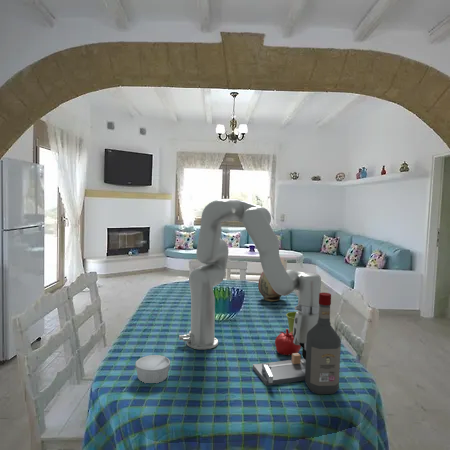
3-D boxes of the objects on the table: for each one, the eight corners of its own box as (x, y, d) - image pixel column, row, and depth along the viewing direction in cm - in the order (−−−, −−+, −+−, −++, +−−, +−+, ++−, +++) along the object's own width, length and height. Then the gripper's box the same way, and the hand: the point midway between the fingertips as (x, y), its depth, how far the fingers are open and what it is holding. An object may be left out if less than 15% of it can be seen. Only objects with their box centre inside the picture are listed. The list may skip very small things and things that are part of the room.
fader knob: (294, 364, 130) (294, 355, 130) (291, 361, 132) (291, 353, 132) (300, 363, 131) (300, 354, 131) (297, 361, 133) (298, 352, 133)
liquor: (341, 394, 114) (345, 297, 112) (311, 395, 114) (315, 298, 111) (330, 379, 123) (334, 290, 121) (303, 380, 123) (306, 290, 120)
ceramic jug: (258, 295, 226) (259, 246, 224) (284, 296, 224) (285, 247, 222) (256, 303, 210) (258, 250, 207) (284, 304, 207) (286, 251, 205)
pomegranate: (298, 360, 138) (299, 336, 137) (272, 355, 142) (272, 331, 141) (302, 349, 147) (303, 326, 146) (277, 345, 151) (278, 322, 150)
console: (266, 385, 119) (266, 379, 119) (252, 368, 130) (252, 362, 130) (322, 377, 124) (322, 371, 124) (304, 362, 136) (304, 356, 136)
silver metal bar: (261, 369, 125) (261, 363, 125) (268, 369, 126) (268, 362, 126) (267, 383, 116) (267, 376, 116) (274, 382, 117) (274, 376, 116)
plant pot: (307, 339, 158) (308, 319, 157) (285, 337, 159) (285, 317, 159) (307, 331, 167) (308, 312, 166) (286, 329, 169) (286, 311, 168)
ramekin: (172, 383, 119) (172, 367, 119) (136, 388, 116) (136, 371, 116) (167, 368, 130) (167, 353, 129) (134, 371, 127) (134, 356, 126)
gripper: (294, 313, 125) (292, 366, 127) (333, 310, 130) (331, 361, 131) (284, 307, 133) (283, 357, 134) (321, 304, 137) (320, 352, 138)
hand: (306, 359), depth 133 cm, fingers closed
